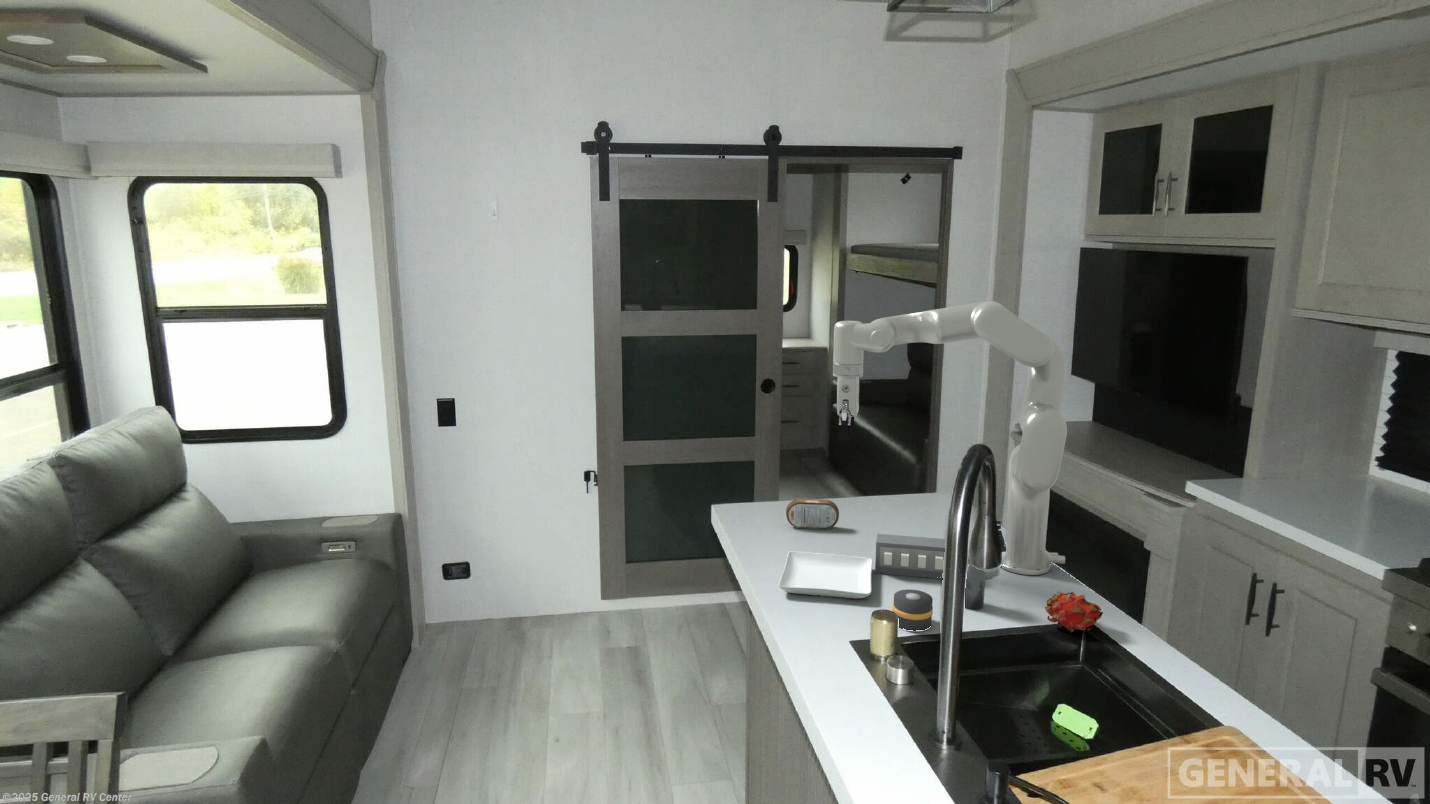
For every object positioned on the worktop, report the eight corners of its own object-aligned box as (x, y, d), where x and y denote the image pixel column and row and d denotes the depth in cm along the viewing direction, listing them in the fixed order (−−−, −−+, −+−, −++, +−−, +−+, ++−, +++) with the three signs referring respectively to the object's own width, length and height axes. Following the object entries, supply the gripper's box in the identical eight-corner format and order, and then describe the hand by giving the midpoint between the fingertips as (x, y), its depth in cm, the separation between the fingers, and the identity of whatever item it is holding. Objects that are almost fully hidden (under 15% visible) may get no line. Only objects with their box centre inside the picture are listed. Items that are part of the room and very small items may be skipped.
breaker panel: (949, 570, 199) (951, 539, 198) (951, 582, 192) (953, 551, 190) (876, 563, 204) (877, 533, 202) (874, 575, 196) (875, 544, 195)
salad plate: (871, 606, 181) (871, 592, 180) (777, 598, 185) (777, 584, 184) (872, 569, 201) (872, 556, 200) (787, 563, 205) (787, 550, 204)
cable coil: (931, 616, 175) (933, 590, 174) (932, 634, 167) (933, 606, 166) (892, 612, 177) (893, 586, 176) (891, 630, 169) (892, 602, 168)
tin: (838, 526, 230) (839, 498, 228) (839, 530, 227) (839, 502, 225) (785, 525, 231) (786, 497, 230) (785, 529, 228) (786, 500, 227)
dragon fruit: (1037, 630, 172) (1094, 641, 171) (1052, 624, 164) (1112, 635, 163) (1037, 591, 175) (1094, 601, 174) (1052, 583, 167) (1111, 593, 166)
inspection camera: (982, 600, 182) (985, 559, 180) (984, 611, 177) (987, 568, 175) (959, 598, 184) (961, 557, 182) (960, 608, 179) (963, 566, 177)
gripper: (860, 376, 194) (858, 444, 197) (865, 365, 210) (863, 428, 213) (829, 375, 195) (827, 443, 199) (836, 364, 212) (834, 427, 215)
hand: (846, 435), depth 206 cm, fingers open, 9 cm apart
